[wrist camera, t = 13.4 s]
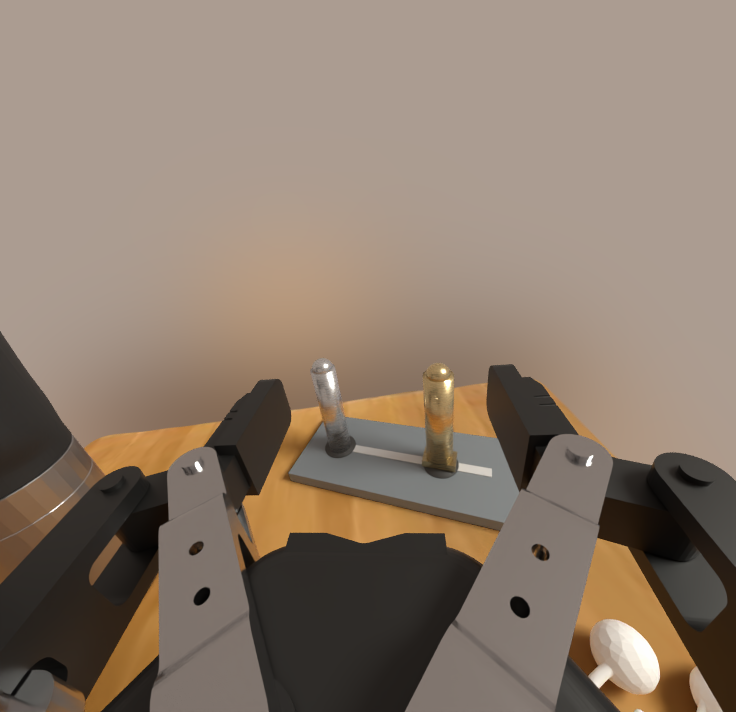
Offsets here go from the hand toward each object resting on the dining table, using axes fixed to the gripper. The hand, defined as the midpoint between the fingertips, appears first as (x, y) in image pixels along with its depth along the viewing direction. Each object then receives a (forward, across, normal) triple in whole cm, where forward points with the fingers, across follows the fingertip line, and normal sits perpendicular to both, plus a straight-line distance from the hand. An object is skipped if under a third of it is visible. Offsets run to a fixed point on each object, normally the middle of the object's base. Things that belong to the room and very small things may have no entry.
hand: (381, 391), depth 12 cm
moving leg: (+18, -4, +24) cm, 30 cm away
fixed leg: (+21, +9, +24) cm, 34 cm away
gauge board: (+19, +1, +26) cm, 32 cm away
